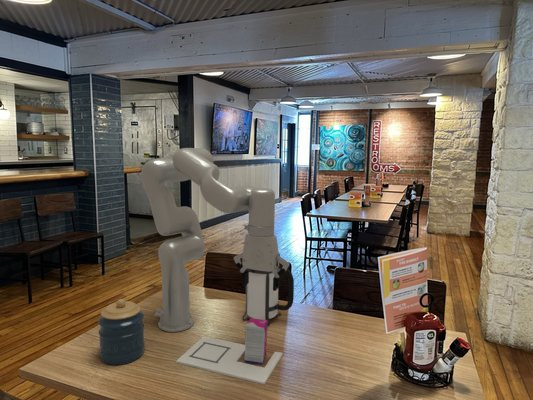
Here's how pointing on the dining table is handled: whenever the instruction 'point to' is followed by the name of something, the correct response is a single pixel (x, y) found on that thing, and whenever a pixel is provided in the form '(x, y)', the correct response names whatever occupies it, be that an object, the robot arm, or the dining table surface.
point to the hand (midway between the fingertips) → (260, 286)
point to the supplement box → (255, 341)
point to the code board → (226, 360)
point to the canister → (121, 333)
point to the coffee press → (265, 295)
